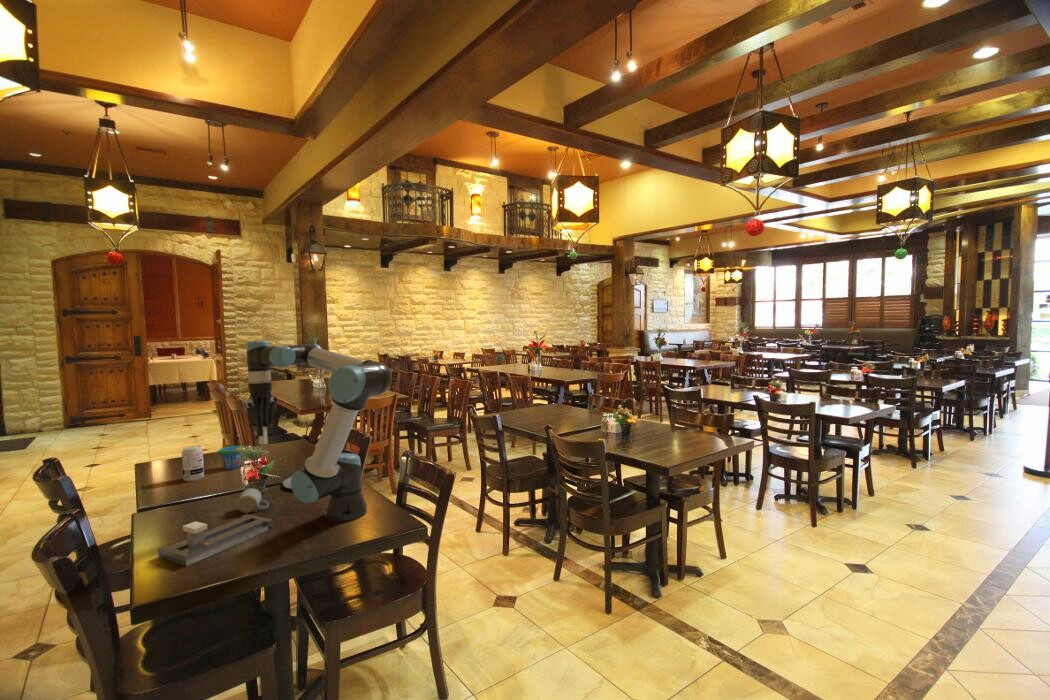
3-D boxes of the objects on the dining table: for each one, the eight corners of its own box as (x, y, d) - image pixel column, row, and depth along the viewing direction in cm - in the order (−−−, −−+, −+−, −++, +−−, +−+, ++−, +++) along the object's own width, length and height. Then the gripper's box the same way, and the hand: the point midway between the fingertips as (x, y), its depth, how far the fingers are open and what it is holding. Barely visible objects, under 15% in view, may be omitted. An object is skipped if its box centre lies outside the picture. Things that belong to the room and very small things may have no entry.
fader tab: (196, 542, 162) (195, 521, 162) (208, 545, 160) (207, 524, 160) (184, 547, 159) (182, 526, 158) (195, 550, 156) (194, 529, 156)
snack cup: (212, 472, 244) (211, 452, 243) (216, 466, 254) (215, 447, 253) (248, 468, 250) (247, 448, 249) (251, 463, 260) (250, 444, 259)
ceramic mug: (236, 515, 189) (235, 495, 189) (240, 507, 197) (240, 489, 196) (267, 512, 193) (266, 492, 192) (270, 504, 200) (269, 486, 200)
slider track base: (247, 521, 183) (246, 513, 183) (273, 527, 177) (272, 519, 177) (158, 557, 156) (158, 548, 156) (186, 566, 150) (185, 556, 150)
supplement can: (186, 477, 237) (185, 446, 236) (206, 475, 240) (204, 445, 239) (180, 482, 229) (178, 450, 228) (201, 480, 232) (199, 449, 231)
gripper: (267, 379, 193) (270, 439, 194) (237, 383, 181) (240, 447, 182) (281, 380, 190) (284, 440, 191) (252, 384, 178) (255, 448, 179)
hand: (263, 443), depth 187 cm, fingers closed
